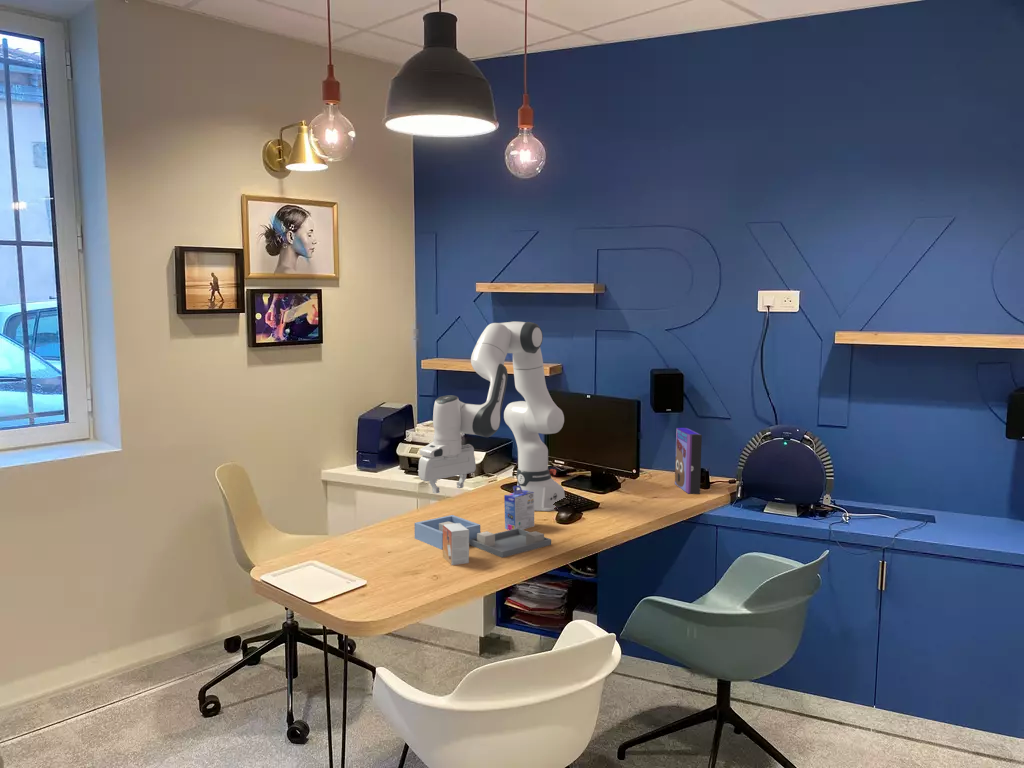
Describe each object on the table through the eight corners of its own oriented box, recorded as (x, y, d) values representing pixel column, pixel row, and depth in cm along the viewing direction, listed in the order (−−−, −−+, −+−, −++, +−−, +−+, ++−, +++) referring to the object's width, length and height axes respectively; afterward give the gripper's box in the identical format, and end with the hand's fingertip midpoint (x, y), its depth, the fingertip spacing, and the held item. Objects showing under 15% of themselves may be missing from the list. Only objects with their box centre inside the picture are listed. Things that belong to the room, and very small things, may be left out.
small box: (442, 558, 241) (442, 524, 240) (460, 556, 243) (460, 522, 242) (451, 567, 233) (451, 531, 232) (469, 564, 236) (469, 529, 234)
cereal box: (674, 484, 340) (676, 427, 337) (685, 483, 340) (687, 427, 338) (688, 494, 322) (690, 434, 320) (699, 493, 323) (701, 434, 320)
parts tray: (517, 534, 266) (517, 528, 265) (551, 546, 254) (551, 539, 253) (469, 546, 253) (469, 539, 252) (502, 559, 241) (502, 551, 240)
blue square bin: (452, 531, 269) (452, 514, 268) (480, 541, 257) (480, 524, 257) (414, 539, 259) (414, 522, 258) (441, 551, 248) (441, 533, 247)
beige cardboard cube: (448, 536, 261) (448, 521, 260) (456, 539, 258) (456, 524, 257) (438, 538, 258) (438, 523, 258) (446, 541, 255) (446, 526, 255)
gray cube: (535, 541, 256) (535, 531, 256) (544, 544, 253) (544, 534, 253) (525, 544, 254) (526, 533, 253) (534, 547, 250) (534, 536, 250)
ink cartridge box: (523, 524, 278) (523, 482, 277) (535, 527, 274) (535, 485, 273) (503, 530, 271) (503, 487, 269) (515, 533, 267) (515, 490, 266)
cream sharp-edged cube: (486, 542, 256) (486, 531, 255) (494, 545, 253) (494, 534, 252) (476, 544, 253) (476, 533, 253) (484, 547, 250) (484, 536, 250)
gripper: (467, 441, 264) (468, 483, 266) (415, 450, 251) (416, 493, 253) (479, 444, 259) (480, 486, 261) (426, 453, 246) (427, 497, 248)
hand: (448, 490), depth 257 cm, fingers open, 8 cm apart
